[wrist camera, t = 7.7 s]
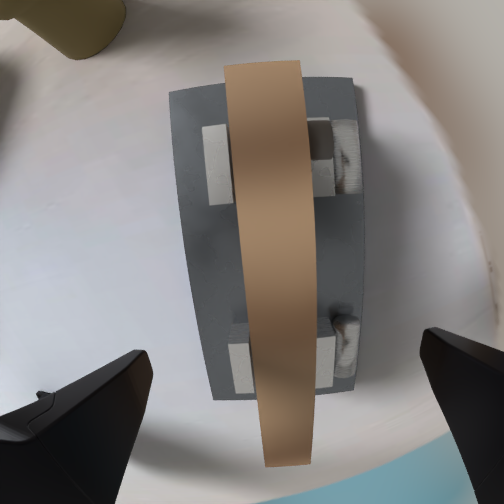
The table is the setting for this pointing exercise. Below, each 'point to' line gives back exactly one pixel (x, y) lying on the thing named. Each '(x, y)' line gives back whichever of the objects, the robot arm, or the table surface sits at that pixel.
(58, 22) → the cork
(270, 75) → the cabinet door
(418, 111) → the table surface
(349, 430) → the table surface
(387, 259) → the table surface
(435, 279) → the table surface
